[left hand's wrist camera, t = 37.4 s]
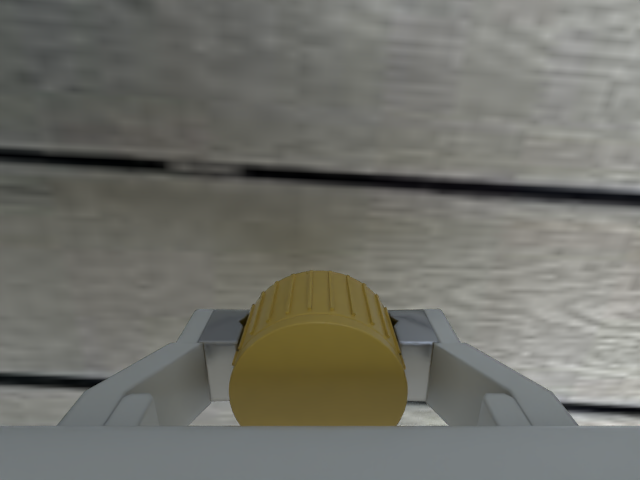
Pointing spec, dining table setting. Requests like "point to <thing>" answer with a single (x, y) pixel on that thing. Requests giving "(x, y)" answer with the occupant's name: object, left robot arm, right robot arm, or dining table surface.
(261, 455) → the left robot arm
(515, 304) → the dining table surface
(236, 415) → the cap
